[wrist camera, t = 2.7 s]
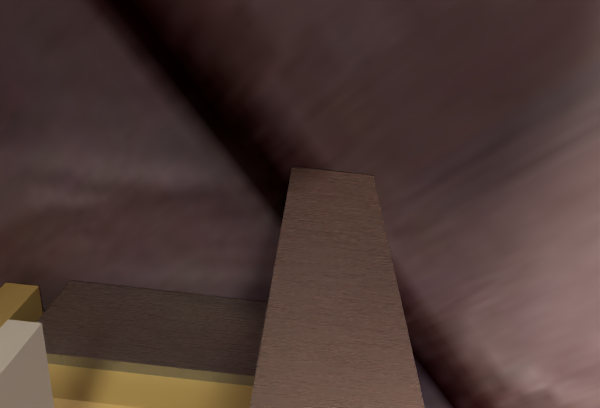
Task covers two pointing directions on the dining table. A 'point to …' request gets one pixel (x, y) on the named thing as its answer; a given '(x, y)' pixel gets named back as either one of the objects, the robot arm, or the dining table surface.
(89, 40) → the dining table surface
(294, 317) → the pin
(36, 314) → the bracket
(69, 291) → the gray post on base
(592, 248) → the dining table surface
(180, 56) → the dining table surface
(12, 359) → the robot arm
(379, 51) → the dining table surface
